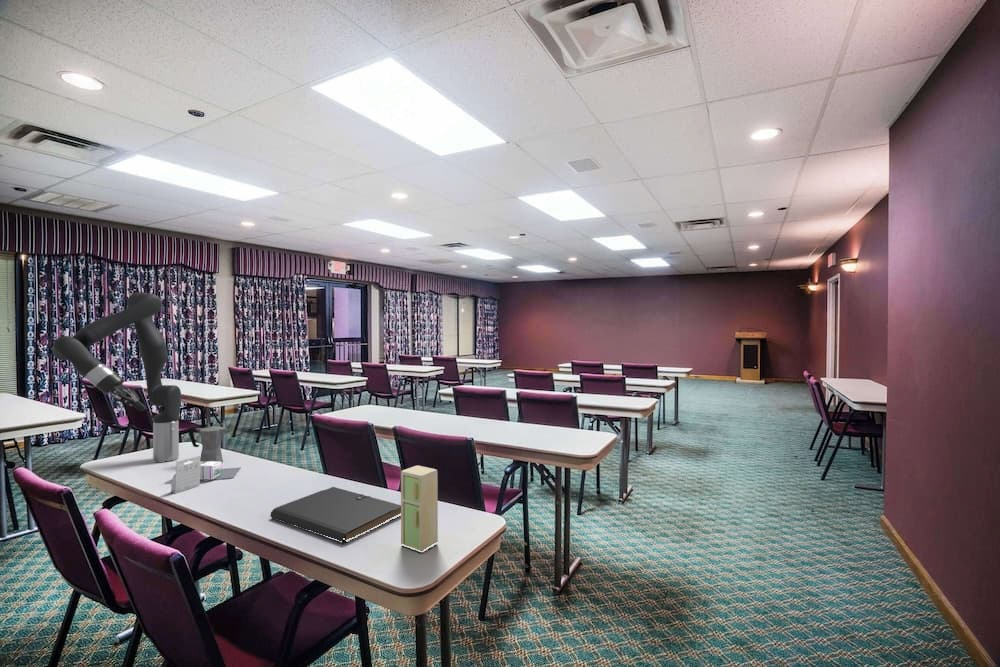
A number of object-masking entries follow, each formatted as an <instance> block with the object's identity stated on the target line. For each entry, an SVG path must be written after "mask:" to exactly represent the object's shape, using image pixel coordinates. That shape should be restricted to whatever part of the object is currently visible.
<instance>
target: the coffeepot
mask: <svg viewBox="0 0 1000 667" xmlns="http://www.w3.org/2000/svg"><path fill="white" fill-rule="evenodd" d="M227 431H229V429H228V428H226V427H222V426H215V425H214V422H213V421H210V422H209V426H206V427H204V428H203V427H193V428H191V430H189V432H188V436H189V438H190V441H191V443H192V446H193V448H199V447H200V444H197V441H196V439H195V434H194V433H197V434H198V433H199V436H200V441H201V446H202V447H201V448H202V449H201V452H200V461H218V462H222V463H223V462H224V459H223V454H222V449H221V448H222V447H221V444H222V440H223V437H224V435H225V434H226V433H227Z"/></svg>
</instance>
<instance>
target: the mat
mask: <svg viewBox="0 0 1000 667" xmlns="http://www.w3.org/2000/svg"><path fill="white" fill-rule="evenodd" d="M239 469H241V466H239V467H228V468H227V467H226V468H222V469H221V475H220V476H218V477H216V478H214V479H222V480H228V479H227V478H233V479H235V477H236V475H237V474H238V473H239V471H240V470H239ZM237 472H238V473H237ZM236 473H237V474H236ZM234 476H235V477H234ZM202 480H209V479H200V482H203V481H202Z"/></svg>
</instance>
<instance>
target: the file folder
mask: <svg viewBox="0 0 1000 667" xmlns="http://www.w3.org/2000/svg"><path fill="white" fill-rule="evenodd" d="M400 513H401V504H399V503H398V504H397V503H393V502H390V501H386V500H383V499H380V498H376V497H372V496H370V495H365V494H363V493H362V494H361V493H358V492H354V491H351V490H350V491H349V490H347V489H343V488H338V487H336V486H332V487H329V488H326V489H323V490H319V491H317V492H314V493H312V494H309V495H306V496H304V497H301V498H297V499H295V500H292V501H290V502H287V503H285V504H282V505H278V506H276V507H274V509H272V511H271V512H270V515H269V516H270V518H271V517H272V518H271V519H273V518H275V519H278V520H281V521H284V522H286V523H285V524H287V523H289V524H292V525H296V526H298V527H301V528H304V529H307V530H311V531H313V532H316V533H319V534H322V535H325V536H328V537H331V538H334V539H337V540H339V541H342V542H343V543H344V541H343V538H345V540H347V539H349V538H352V537H355V536H356V535H358V534H361V533H363V532H365V531H367V530H369V529H371V528H373V527H375V526H377V525H379V524H381V523H383V522H385V521H386V520H388V519H390V518H392V517H394V516H396V515H398V514H400ZM275 519H274V520H275ZM278 520H277V521H278ZM281 521H280V522H281ZM284 522H283V523H284ZM289 524H288V525H289ZM292 525H291V526H292ZM298 527H297V528H298Z"/></svg>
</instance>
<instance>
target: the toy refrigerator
mask: <svg viewBox="0 0 1000 667" xmlns="http://www.w3.org/2000/svg"><path fill="white" fill-rule="evenodd" d="M438 473H439V472H438V469H435V468H432V467H427V466H424V465H422V466H421V465H414V466H411V467H408V468H406V469H402V470H401V471H400V505H401V516H400V542H401V543H400V545H401V544H404V545H406V546H409V547H412V548H415V549H417V550H420V551H423V550H424V549H426V548H427V547H429V546H431V545H432V544H434V543H436V542H439V540H438V539H439V538H438V537H439V534H438V532H439V530H438V529H439V526H438V525H439V524H438V523H439V518H438V517H439V516H438V515H439V514H438V510H439V509H438V508H439V506H438V505H439V504H438V499H439V497H438V493H439V492H438V484H439V483H438V482H439V481H438V478H439V477H438Z"/></svg>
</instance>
